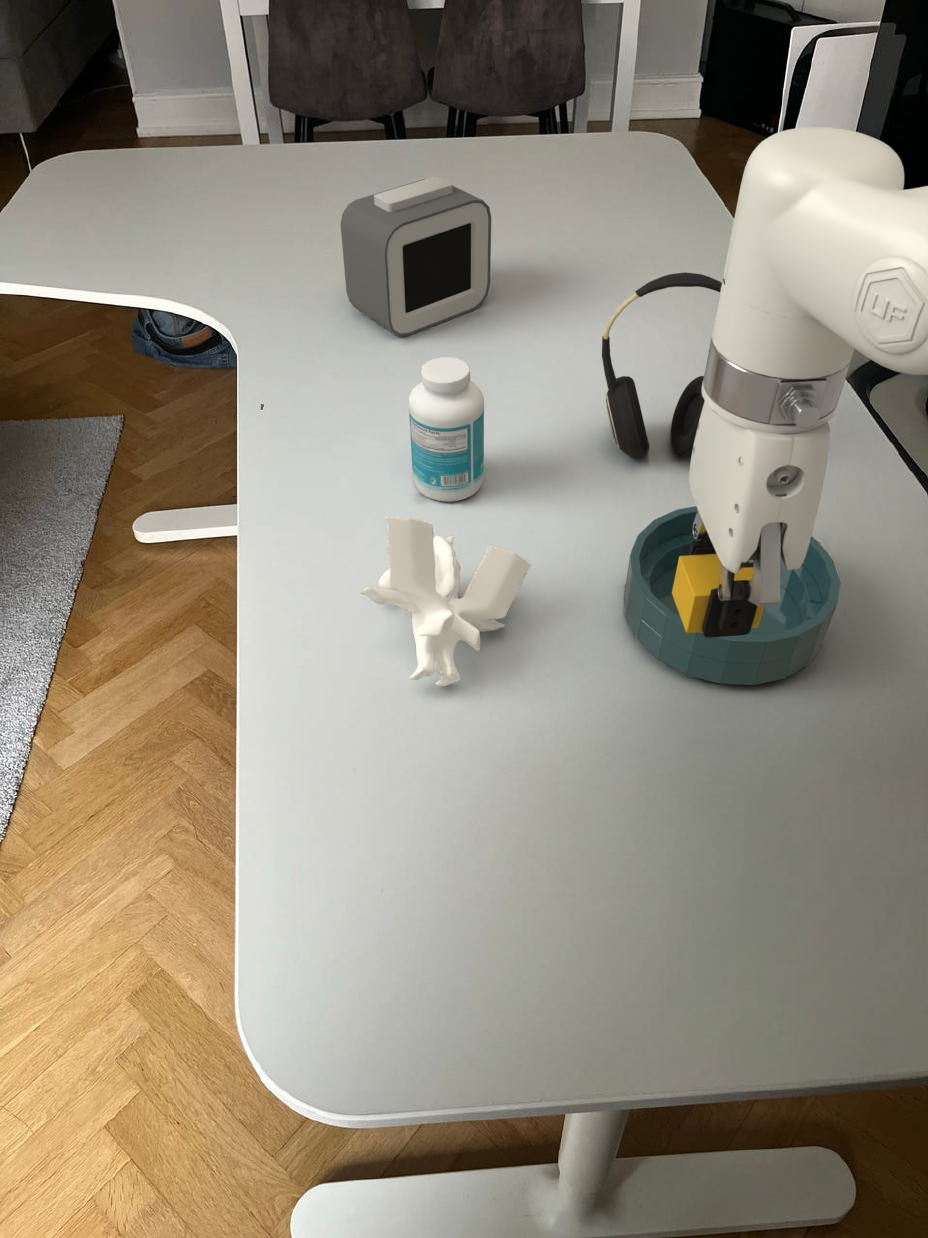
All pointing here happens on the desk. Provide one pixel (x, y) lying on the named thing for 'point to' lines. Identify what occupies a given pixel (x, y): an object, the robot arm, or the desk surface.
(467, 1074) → the desk surface
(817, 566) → the bowl
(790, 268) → the robot arm
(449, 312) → the alarm clock
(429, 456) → the pill bottle
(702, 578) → the yellow block
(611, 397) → the headphones
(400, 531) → the figurine
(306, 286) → the desk surface
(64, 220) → the desk surface
